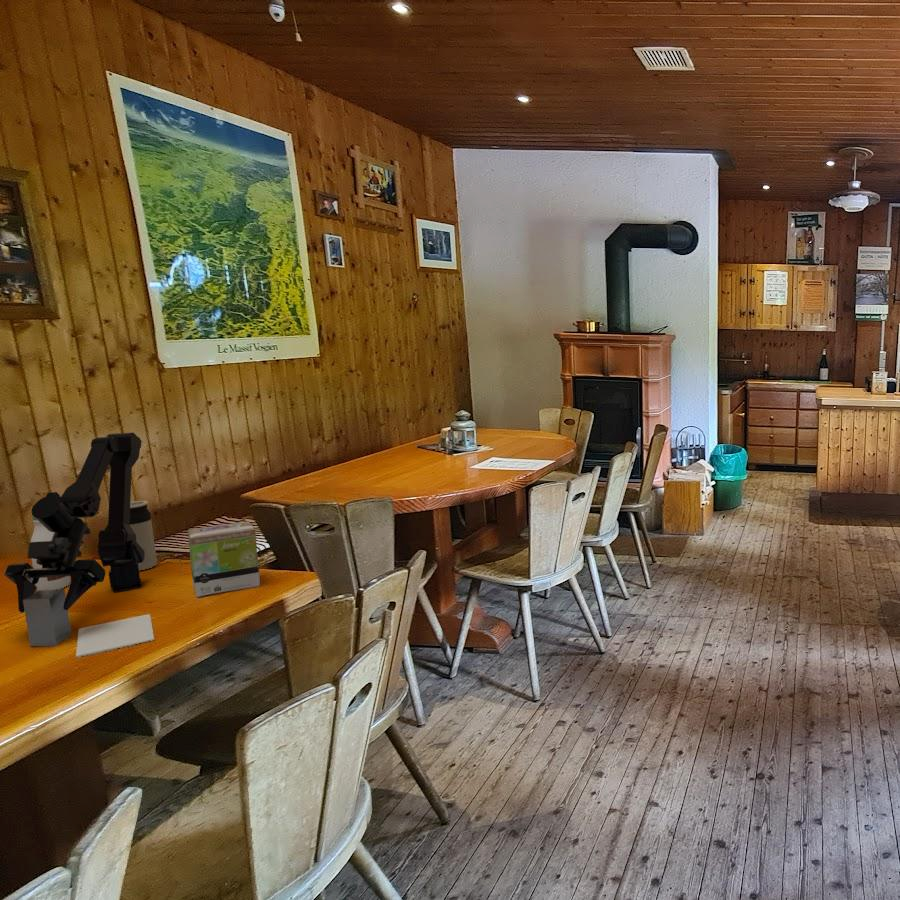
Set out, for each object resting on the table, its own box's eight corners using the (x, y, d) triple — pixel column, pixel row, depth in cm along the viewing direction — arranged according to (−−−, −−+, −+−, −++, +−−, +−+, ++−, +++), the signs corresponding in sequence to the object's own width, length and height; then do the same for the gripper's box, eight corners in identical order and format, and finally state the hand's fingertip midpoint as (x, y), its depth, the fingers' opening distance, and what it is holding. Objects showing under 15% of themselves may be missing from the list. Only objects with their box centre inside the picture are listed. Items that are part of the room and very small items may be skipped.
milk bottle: (35, 595, 175) (23, 517, 172) (37, 586, 182) (25, 511, 179) (70, 588, 178) (58, 511, 176) (71, 580, 185) (60, 506, 182)
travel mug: (162, 566, 193) (153, 502, 190) (132, 574, 187) (123, 508, 184) (150, 561, 198) (141, 499, 196) (121, 568, 193) (112, 505, 190)
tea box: (196, 599, 164) (188, 538, 162) (193, 586, 173) (186, 528, 171) (261, 586, 170) (255, 527, 168) (255, 575, 179) (249, 519, 177)
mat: (150, 615, 155) (149, 613, 155) (154, 640, 141) (154, 638, 141) (79, 630, 149) (78, 628, 149) (76, 658, 135) (75, 656, 135)
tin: (46, 636, 147) (39, 590, 146) (71, 634, 147) (64, 589, 145) (30, 647, 142) (22, 599, 140) (56, 645, 142) (49, 598, 140)
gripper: (2, 526, 145) (-26, 596, 136) (90, 521, 145) (68, 591, 135) (31, 552, 154) (6, 619, 145) (114, 547, 154) (95, 614, 144)
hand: (43, 610), depth 142 cm, fingers open, 9 cm apart
